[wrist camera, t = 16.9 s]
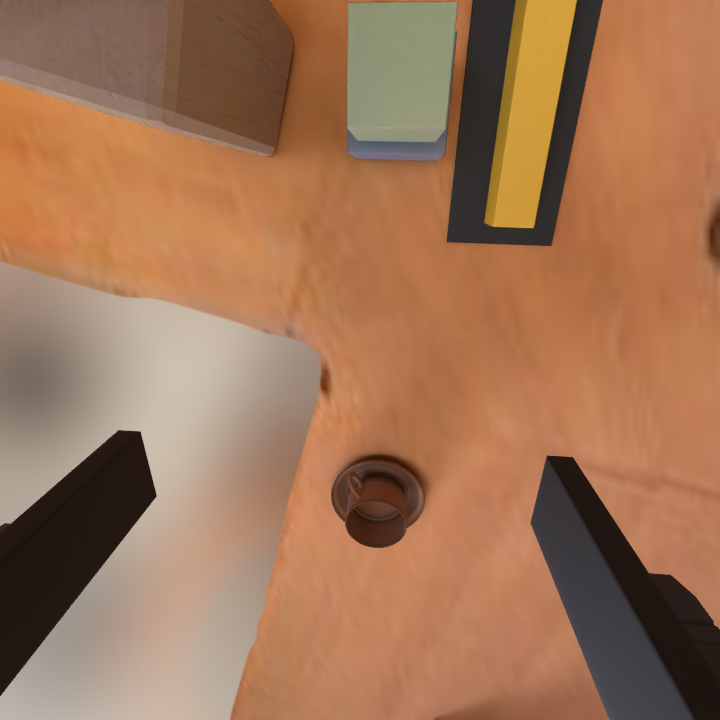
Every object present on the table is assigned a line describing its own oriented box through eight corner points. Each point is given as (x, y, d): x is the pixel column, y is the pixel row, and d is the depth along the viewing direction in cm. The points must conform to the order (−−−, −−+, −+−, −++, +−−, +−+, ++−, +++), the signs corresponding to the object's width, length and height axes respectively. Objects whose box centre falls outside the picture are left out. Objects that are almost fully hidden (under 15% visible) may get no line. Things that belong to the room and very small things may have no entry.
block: (185, -1, 34) (-70, -233, 15) (298, 35, 34) (181, -150, 16) (175, 129, 38) (-36, 70, 19) (277, 160, 38) (163, 131, 20)
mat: (478, -52, 31) (479, -55, 30) (612, -54, 30) (614, -57, 30) (446, 241, 39) (447, 242, 39) (549, 245, 39) (551, 245, 38)
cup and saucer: (316, 492, 54) (306, 528, 48) (369, 435, 49) (365, 467, 44) (385, 537, 56) (384, 576, 50) (442, 485, 51) (448, 522, 46)
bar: (518, -19, 31) (534, -47, 27) (563, -20, 31) (586, -48, 27) (483, 223, 38) (493, 226, 34) (521, 224, 38) (534, 228, 34)
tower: (357, 60, 34) (333, -17, 21) (445, 61, 34) (475, -19, 21) (355, 159, 37) (333, 142, 24) (436, 160, 37) (457, 144, 24)
